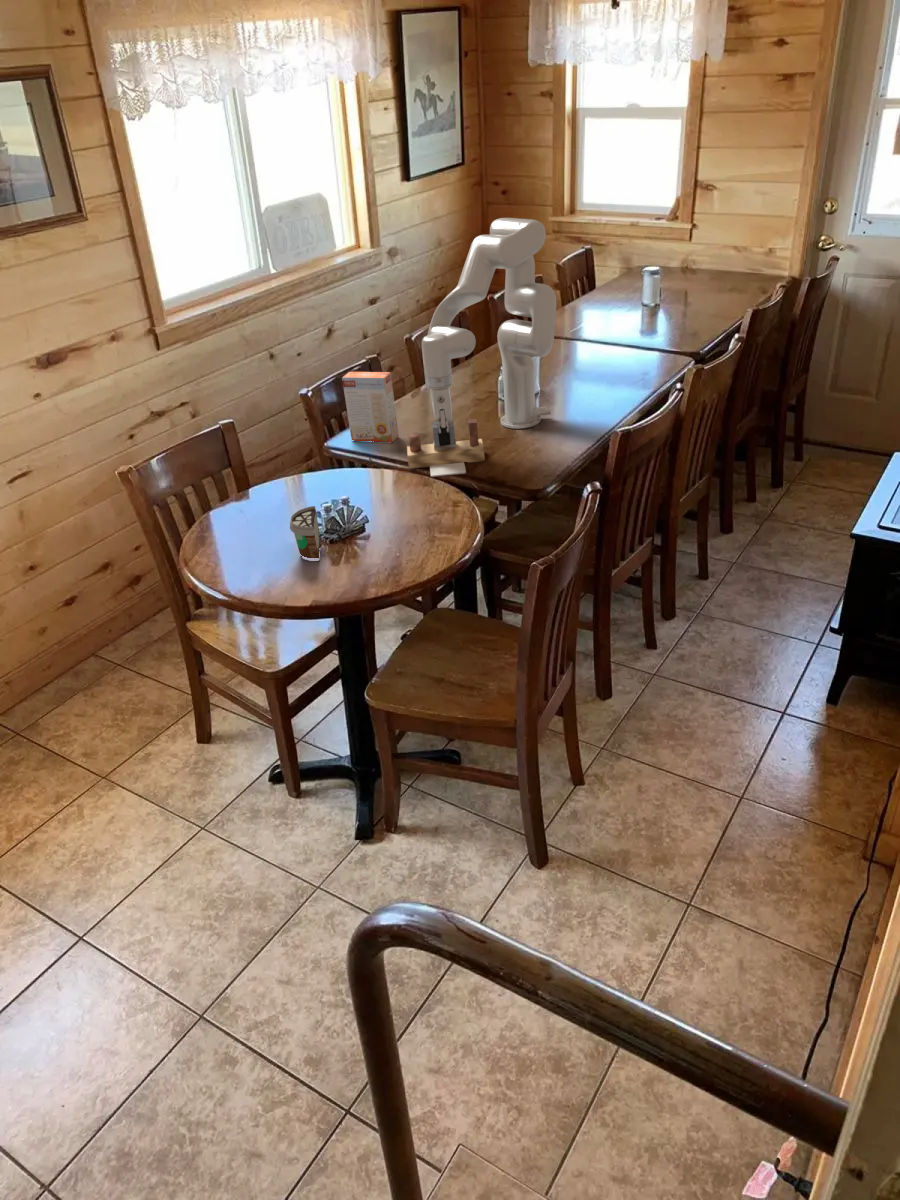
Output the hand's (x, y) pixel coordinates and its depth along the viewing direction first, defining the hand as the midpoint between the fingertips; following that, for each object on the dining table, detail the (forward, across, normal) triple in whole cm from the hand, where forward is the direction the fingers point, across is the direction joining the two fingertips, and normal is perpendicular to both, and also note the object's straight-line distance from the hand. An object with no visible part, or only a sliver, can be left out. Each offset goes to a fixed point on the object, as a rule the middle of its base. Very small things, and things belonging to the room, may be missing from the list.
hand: (444, 441), depth 259 cm
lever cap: (0, 0, 0) cm, 0 cm away
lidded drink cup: (+6, -49, +37) cm, 62 cm away
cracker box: (+6, +22, +21) cm, 31 cm away
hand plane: (+6, 0, 0) cm, 6 cm away
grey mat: (+6, -8, 0) cm, 10 cm away
